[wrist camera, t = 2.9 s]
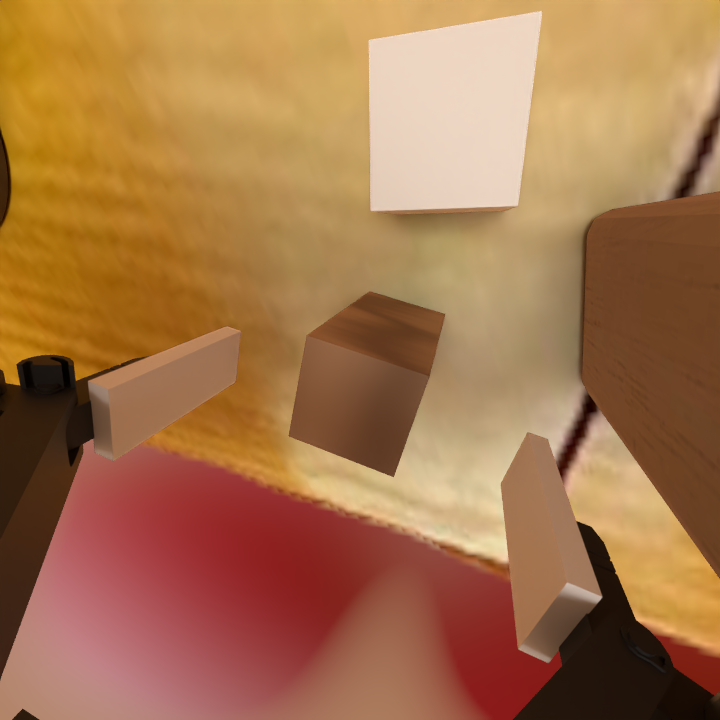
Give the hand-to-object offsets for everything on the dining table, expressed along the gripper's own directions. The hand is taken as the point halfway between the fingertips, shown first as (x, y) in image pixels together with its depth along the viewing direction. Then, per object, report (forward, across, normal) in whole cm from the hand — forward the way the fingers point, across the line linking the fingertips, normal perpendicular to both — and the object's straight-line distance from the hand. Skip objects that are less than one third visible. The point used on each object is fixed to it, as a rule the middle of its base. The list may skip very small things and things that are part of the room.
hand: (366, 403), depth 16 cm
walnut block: (+9, 0, 0) cm, 9 cm away
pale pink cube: (+9, 0, +11) cm, 14 cm away
